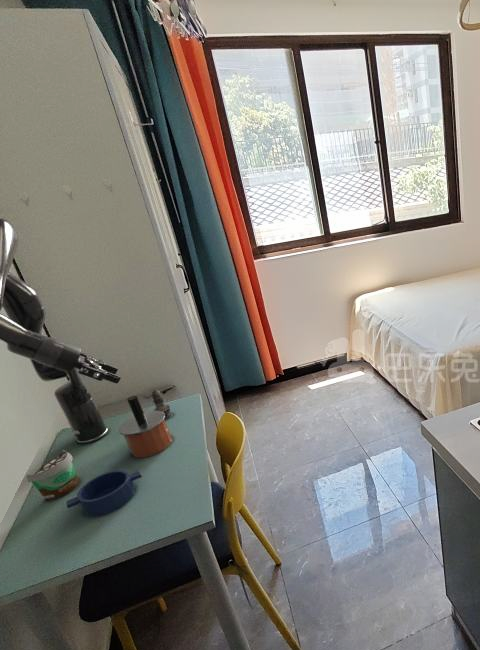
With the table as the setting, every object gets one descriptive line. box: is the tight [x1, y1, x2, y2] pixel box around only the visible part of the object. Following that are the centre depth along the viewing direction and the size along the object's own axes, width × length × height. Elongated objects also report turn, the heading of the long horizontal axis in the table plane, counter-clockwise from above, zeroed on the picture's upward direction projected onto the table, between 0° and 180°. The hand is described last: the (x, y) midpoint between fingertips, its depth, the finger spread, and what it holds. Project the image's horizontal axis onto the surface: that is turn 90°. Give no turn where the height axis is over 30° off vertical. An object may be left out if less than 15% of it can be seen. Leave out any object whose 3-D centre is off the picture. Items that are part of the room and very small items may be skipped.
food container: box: [26, 449, 80, 501], centre depth 129 cm, size 12×6×10 cm, turn 168°
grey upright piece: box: [151, 388, 174, 421], centre depth 162 cm, size 6×6×12 cm
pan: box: [66, 470, 142, 517], centre depth 124 cm, size 13×18×5 cm
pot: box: [123, 420, 173, 458], centre depth 146 cm, size 12×12×9 cm
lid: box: [118, 395, 165, 436], centre depth 142 cm, size 14×14×10 cm
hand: (117, 375), depth 134 cm, fingers open, 8 cm apart
